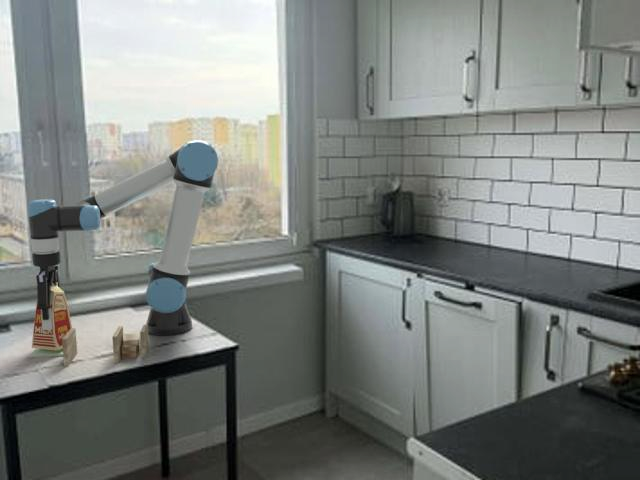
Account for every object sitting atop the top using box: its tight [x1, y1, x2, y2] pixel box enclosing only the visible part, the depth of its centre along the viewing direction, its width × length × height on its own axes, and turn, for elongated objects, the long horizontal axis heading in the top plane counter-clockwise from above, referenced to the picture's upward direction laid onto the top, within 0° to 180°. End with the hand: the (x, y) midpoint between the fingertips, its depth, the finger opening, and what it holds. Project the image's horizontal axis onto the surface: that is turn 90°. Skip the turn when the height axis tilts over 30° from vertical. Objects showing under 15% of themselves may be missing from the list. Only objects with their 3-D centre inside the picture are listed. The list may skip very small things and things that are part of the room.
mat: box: [28, 340, 78, 359], centre depth 183 cm, size 11×11×1 cm
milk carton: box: [31, 283, 73, 350], centre depth 182 cm, size 9×9×20 cm
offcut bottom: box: [121, 345, 141, 359], centre depth 180 cm, size 4×6×2 cm, turn 6°
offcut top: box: [123, 332, 139, 347], centre depth 179 cm, size 4×6×2 cm, turn 19°
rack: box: [62, 324, 150, 367], centre depth 176 cm, size 22×10×8 cm, turn 99°
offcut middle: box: [122, 338, 140, 353], centre depth 179 cm, size 4×6×2 cm, turn 8°
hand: (52, 324), depth 182 cm, fingers closed on milk carton, 8 cm apart
